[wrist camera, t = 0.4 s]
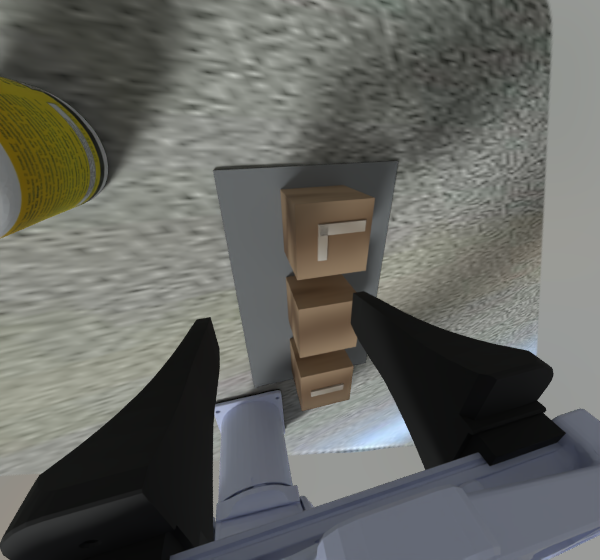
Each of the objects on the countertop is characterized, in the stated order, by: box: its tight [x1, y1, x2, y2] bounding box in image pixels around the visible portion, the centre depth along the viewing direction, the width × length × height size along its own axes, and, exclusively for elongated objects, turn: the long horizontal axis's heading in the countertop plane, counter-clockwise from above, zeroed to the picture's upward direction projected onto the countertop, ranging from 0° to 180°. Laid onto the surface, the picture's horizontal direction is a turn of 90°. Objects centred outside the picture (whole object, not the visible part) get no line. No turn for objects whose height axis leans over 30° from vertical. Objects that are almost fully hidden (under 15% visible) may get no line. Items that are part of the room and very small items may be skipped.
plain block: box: [286, 274, 357, 358], centre depth 21 cm, size 5×5×5 cm
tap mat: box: [213, 161, 398, 387], centre depth 24 cm, size 23×14×1 cm, turn 2°
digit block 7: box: [280, 185, 375, 280], centre depth 18 cm, size 5×5×5 cm
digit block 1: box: [290, 338, 354, 411], centre depth 25 cm, size 5×5×5 cm
